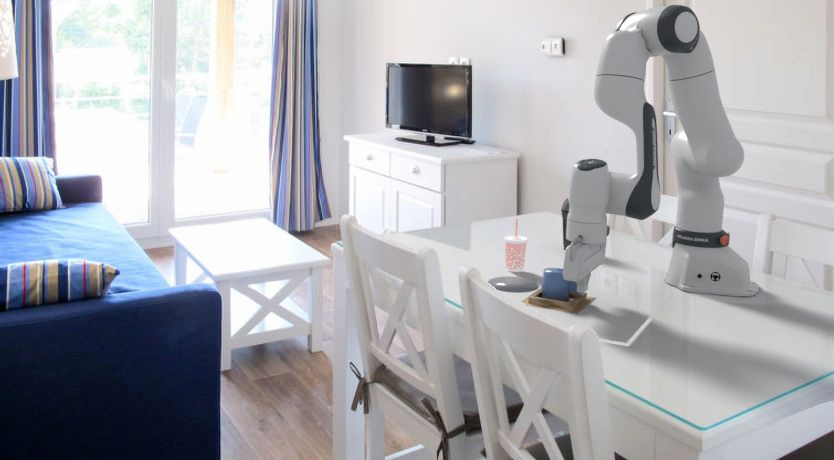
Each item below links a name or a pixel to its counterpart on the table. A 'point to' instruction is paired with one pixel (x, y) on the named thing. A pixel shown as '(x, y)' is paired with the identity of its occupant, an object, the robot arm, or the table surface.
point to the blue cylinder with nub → (557, 285)
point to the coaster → (513, 284)
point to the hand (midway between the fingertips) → (582, 291)
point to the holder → (560, 302)
